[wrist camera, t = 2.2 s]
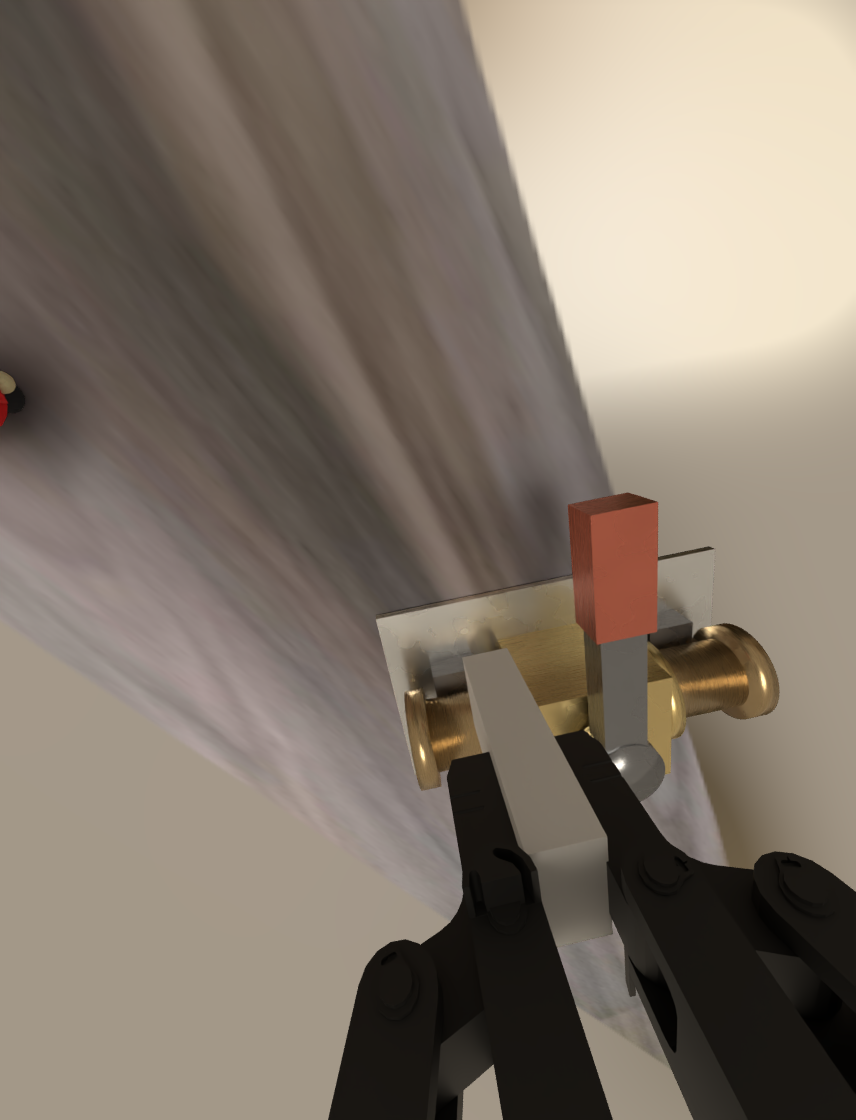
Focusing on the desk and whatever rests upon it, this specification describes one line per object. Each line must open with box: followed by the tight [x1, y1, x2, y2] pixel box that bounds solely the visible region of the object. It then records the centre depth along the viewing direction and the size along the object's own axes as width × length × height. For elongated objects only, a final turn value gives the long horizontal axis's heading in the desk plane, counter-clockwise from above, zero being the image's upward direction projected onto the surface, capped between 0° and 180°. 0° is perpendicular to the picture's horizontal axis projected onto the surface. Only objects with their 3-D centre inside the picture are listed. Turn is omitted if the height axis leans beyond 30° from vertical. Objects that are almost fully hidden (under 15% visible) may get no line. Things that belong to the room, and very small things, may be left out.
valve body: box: [376, 547, 779, 791], centre depth 28 cm, size 24×14×8 cm, turn 100°
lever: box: [568, 493, 665, 802], centre depth 21 cm, size 16×4×2 cm, turn 10°
